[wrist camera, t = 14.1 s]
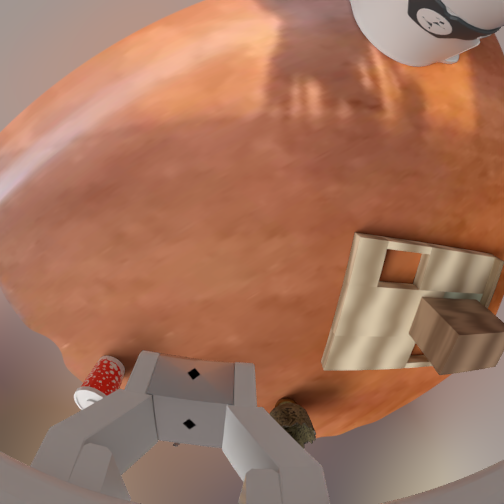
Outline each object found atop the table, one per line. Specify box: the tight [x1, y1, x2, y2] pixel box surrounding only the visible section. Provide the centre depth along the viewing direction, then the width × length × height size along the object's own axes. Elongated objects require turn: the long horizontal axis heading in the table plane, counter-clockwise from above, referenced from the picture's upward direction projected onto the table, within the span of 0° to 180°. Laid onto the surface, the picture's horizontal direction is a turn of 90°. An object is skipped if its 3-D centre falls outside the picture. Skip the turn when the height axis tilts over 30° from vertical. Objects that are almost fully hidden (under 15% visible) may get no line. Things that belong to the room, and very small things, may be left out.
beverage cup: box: [74, 356, 125, 410], centre depth 37 cm, size 6×6×14 cm
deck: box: [321, 232, 504, 370], centre depth 40 cm, size 26×20×4 cm
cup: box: [270, 398, 316, 449], centre depth 43 cm, size 8×7×8 cm
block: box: [409, 297, 504, 375], centre depth 35 cm, size 12×6×10 cm, turn 83°
